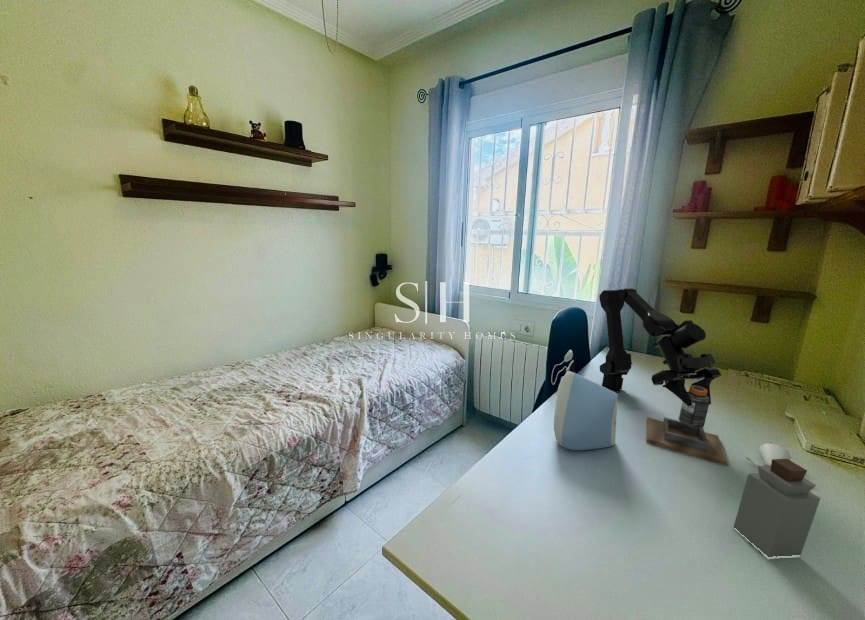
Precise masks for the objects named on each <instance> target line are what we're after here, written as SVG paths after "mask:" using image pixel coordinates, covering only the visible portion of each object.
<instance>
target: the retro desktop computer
mask: <svg viewBox="0 0 865 620" xmlns="http://www.w3.org/2000/svg"><path fill="white" fill-rule="evenodd" d="M573 357H574V353H573V350H572V349H569V350H568V351H567V353H566V354H565V355H564V357H563V359H564V360H563V361H562V362H561V363H559V364H555V365H554V367H553V369H552V372H551V377H550V378H551V384H552V385H555V384H556V382H557V378H558V375H559V373H560V372H562V371H563V370H565V374H564V376H561V377H560V382H559V384H558V388H557V392H556V400H555V401H556V402H555V405H554V407H555V409H554V416H553V417H554V418H553V430H554V436H555V439H556V441H557V443H558V444H559V445H560V446H561V447H563V448H565V449H567V450H569V451H570V450H571V451H588V450H596V449H603V448H609V447H611V446H614V445H615V444H616V443H615V442H616V429H617V418H618V417H617V415H618V400H619V395H618V393H617V392H615V391H611V390H609V389H607V388H605V387H603V386H602V384H599V383H597V382H594V381H593V380H591V379H588V378H587V377H585V376H582V375H580V374H578V373H576V371H575V368H576V367H575V365H576V364H575V361H574V359H573ZM569 361H570V362H569ZM564 362H565V363H567V362H569V364H568V367H567V366H564V367H563V368H562V369H561V370H559V371H558V372H557V374H556V378H555V381H554V382H553V373H554V370H555V368H556V366H561V365H562V364H563V363H564ZM565 368H566V369H565ZM614 443H615V444H614Z"/></svg>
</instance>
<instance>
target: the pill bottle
mask: <svg viewBox="0 0 865 620" xmlns="http://www.w3.org/2000/svg"><path fill="white" fill-rule="evenodd" d="M687 393H688V395H689V398H690V400H691V403H692V406H688V405H686V404H685V403H684V402H683V401H682V400H681V401H682V402H681V407H680V411H679V416H678V421H680V422H681V423H683V424H685V425H687V426H689V427H693V428H703V429H704V427H705V424H706V418H707V414H708V411H709V406H710V404H709V402H710V399H709V398H708V397H707V396H706V395H707V389H705V388H703V387H700V386H692V385H690V386H689V388H688V390H687Z"/></svg>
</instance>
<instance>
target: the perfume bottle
mask: <svg viewBox="0 0 865 620" xmlns="http://www.w3.org/2000/svg"><path fill="white" fill-rule="evenodd" d="M757 468H758V472H750V473H748V475H747V478H746V481H745V485H744V488H743V492H742V495H741V499H740V502H739V506H738V510H737V513H736V516H735V521H734V523H733V527H734V528H736V529H737V530H738V531H739V532H740V533H741V534H742V535H744V536H745V537H746V538H747V539H748V540H749V541H750V542H751V543H753V544H754V545H755V546H756V547H757V548H759V549H760V550H761V551H762V552H763V553H764V554H766V555H767V556H768V557H773V556H776V557H777V556H792V555H802V553H803V550H804V548H805V547H804V546H805V544H806V541H807V538H808V535H809V532H810V530H811V526H812V524H813V521H814V519H815V515H816V513H817V509H818V507H819V504H820V501H821V498H820V497H819V496H817V495H816V494H814V493H813V492H812V490H813V489H814V488H815V487H816V486H817V485H816V484H815V483H814V482H812V481H810V480H808V478H806V479H805V478H804V477H806V474H807V471H808V470H807V469H805V468H804V467H802V466H801V465H799V464H797V463H795V462H794V461H792V460H791V459H790V460H789V459H772V463H771V465H759V466H758V467H757Z"/></svg>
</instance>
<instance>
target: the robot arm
mask: <svg viewBox="0 0 865 620" xmlns="http://www.w3.org/2000/svg"><path fill="white" fill-rule="evenodd" d="M598 299H599V303H600V307H601V308H602V310H603V311H604V312H605V314H606V315H605V317H606V326H607V328H606V329H607V337H608V339H607V340H608V347H609V348H608V352H606V356H605V362H603V363H601V364H600V365H599V372H600V373H602V374H603V377H602V383H601V386H603V387H605V388H607V389H609V390H611V391H613V392H615V393H620V392H621V391H622V389H623V385H624V377H623V376H627V375H628V374H629V372H630V370H631V369H632V365H633V361H632V354H631V353H628V351H626V349H625V345H624V344H625V343H624V334H623V325H622V324H623V323H622V313H621V311H622V310H623V308H624V307H625V304H627V306H629V308H630V309H631V310H632V311H634V313H635V314H636V315H637V316H638V317H639V318H640V320H641V321H642V327H643V328H644V329H645V331H646V332H647V334H648V335H649V336H651V337H661V338H655V339H654V341H653V343H652V346H651V347H652V348H659V350H660V352H661V354H662V356H663V358H664V360H663V361H662V364H663V365H667V366H668V369H665V370H660V371H659V372H656V373H653V375H651V381H652V384H653V386H662V387H663V388H666V389H667V390H668V391H670V392H671V393H672V394H673V395H675V396H676V397H677V398H678V399H679V400H681V401H683V402H684V403H685V404H686V405H688V406H692V403H691V400H690V398H689V395H688V393H687V392H688V390H687V389H686V387H685V383H686V380H692V381H693V383H691V384H690V386H700V387H703V388H705V389H707V395H706V396H707V397H708V398H709V399H710V402H709V405H712V399H711V389H710V388H711V387H710V386H711V383H712V381H714V380H715V379H716V378H720V377H722V374H721V371H720V370H719V369H718V368H716V367H713V365H715V363H716V360H715V358H714V356H713V355H712V353H701V354H700V356H699V357H698V356H697V357H693V355H692V353H686V351H685V349H688V348H691V347H693V346H695V345H696V344H698V343H700V342H702V341H704V340H705V339H706V338H707V334H706V331H705V330H704V329H703V328H702V327H701V326H700V325H698V324H697V323H694V322H693V320H691V319H690V320H688V319H687V320H684V321H682V322H681V323H680V324H678V323H676V322H675V320H673V319H672V318H671V317H669V316H668V315H666V314H664V313H660V312H658V311H657V310H655V309H654V308H653V307H652V306H651V305H650V304H649V303H648V302H647V301H646V300H645V299H644V298H643V297H642V296H641V295H640V294H639V293H638V292H637V290H636V289H635V288H620V289H605V290H602V291H601V293H600V294H599V297H598Z"/></svg>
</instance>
